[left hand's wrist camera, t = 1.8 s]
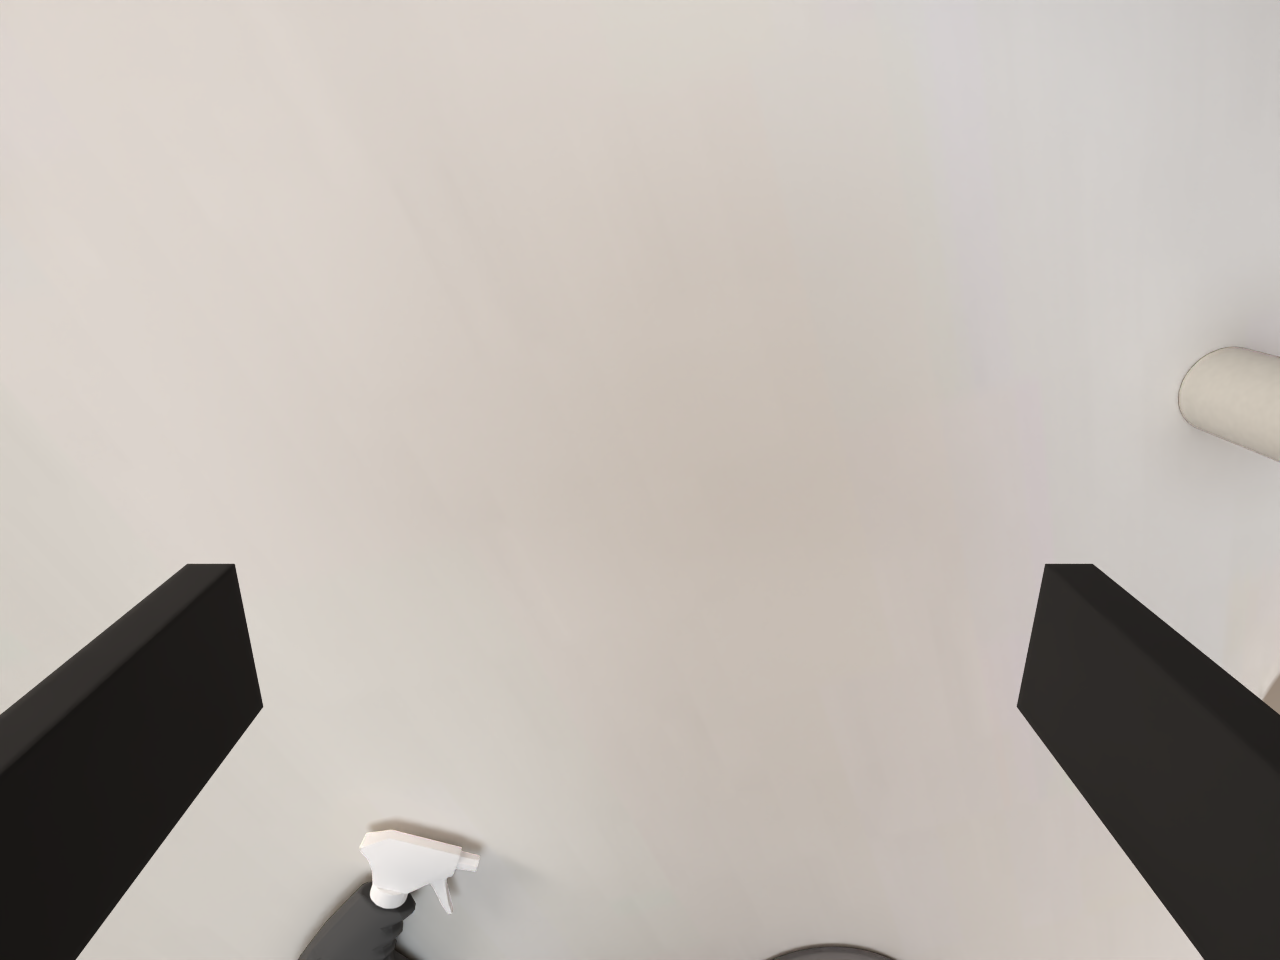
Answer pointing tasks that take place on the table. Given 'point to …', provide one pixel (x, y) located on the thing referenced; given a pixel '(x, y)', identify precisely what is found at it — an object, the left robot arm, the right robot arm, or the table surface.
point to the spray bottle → (388, 896)
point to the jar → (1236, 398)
